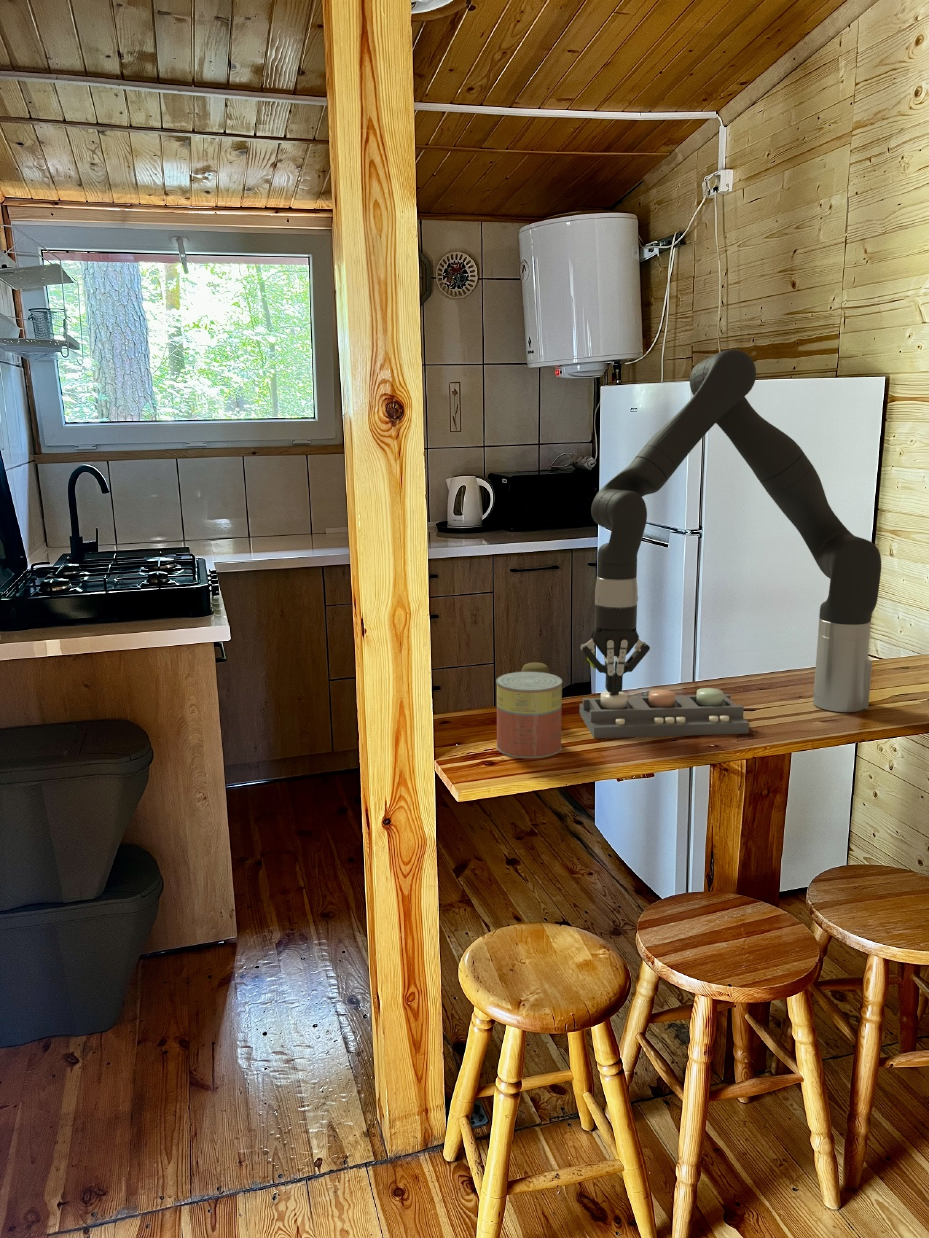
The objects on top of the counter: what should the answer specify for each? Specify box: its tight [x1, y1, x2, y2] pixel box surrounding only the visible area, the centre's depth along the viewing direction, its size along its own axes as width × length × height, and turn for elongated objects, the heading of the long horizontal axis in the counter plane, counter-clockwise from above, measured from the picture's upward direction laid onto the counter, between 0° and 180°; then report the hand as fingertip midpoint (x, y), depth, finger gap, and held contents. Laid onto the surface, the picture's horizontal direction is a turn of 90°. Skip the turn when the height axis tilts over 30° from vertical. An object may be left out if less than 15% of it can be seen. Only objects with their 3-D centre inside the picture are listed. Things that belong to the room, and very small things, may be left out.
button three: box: [648, 688, 676, 708], centre depth 171 cm, size 5×5×2 cm
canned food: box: [495, 671, 563, 759], centre depth 159 cm, size 11×11×12 cm
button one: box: [600, 690, 628, 709], centre depth 170 cm, size 5×5×2 cm
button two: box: [696, 687, 725, 706], centre depth 171 cm, size 5×5×2 cm
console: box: [579, 693, 750, 739], centre depth 171 cm, size 28×14×4 cm, turn 94°
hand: (613, 693), depth 170 cm, fingers closed
